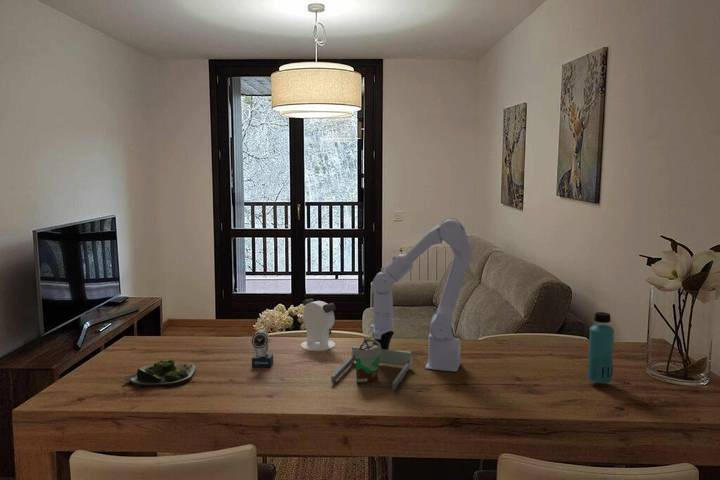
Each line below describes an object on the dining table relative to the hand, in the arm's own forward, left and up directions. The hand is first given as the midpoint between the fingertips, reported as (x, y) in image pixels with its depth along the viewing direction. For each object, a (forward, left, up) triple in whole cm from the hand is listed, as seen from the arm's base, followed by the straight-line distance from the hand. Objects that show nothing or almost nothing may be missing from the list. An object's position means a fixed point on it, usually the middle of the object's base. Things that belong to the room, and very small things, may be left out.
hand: (383, 355), depth 181 cm
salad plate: (+57, +30, -3) cm, 64 cm away
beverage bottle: (-61, 0, -3) cm, 61 cm away
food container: (0, +14, -3) cm, 14 cm away
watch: (+34, +13, -3) cm, 36 cm away
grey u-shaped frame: (0, +11, -2) cm, 12 cm away
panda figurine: (+25, -10, -3) cm, 27 cm away
